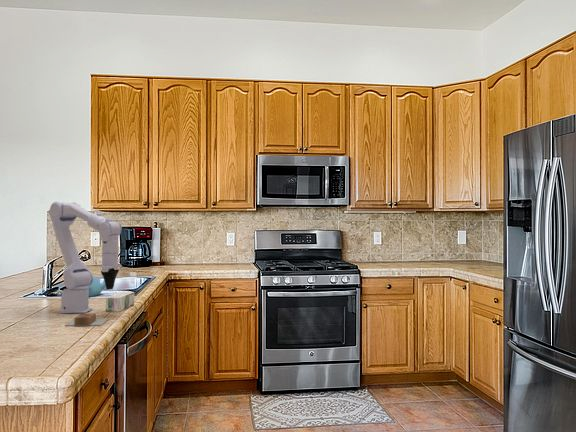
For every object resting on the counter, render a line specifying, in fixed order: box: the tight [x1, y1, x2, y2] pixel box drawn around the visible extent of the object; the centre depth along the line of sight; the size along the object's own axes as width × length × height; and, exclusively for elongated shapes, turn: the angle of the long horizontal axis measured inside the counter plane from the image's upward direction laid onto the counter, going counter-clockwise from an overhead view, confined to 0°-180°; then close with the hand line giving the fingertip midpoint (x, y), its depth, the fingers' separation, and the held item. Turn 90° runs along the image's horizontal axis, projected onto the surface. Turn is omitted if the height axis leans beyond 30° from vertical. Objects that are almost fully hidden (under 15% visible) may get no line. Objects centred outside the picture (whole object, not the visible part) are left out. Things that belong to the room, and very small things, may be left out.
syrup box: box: [105, 291, 135, 313], centre depth 194 cm, size 6×6×14 cm
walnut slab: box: [73, 312, 97, 325], centre depth 165 cm, size 5×2×7 cm
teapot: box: [89, 275, 106, 298], centre depth 226 cm, size 15×15×10 cm
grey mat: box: [64, 318, 110, 327], centre depth 167 cm, size 12×10×1 cm
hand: (109, 289), depth 180 cm, fingers closed
